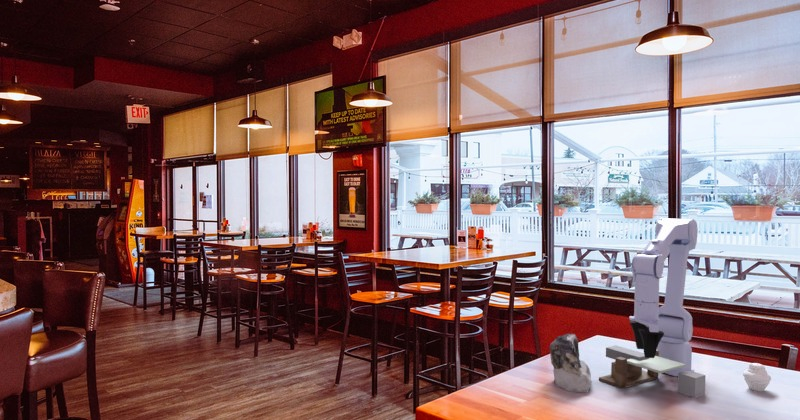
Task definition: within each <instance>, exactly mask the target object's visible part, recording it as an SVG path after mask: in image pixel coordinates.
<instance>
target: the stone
mask: <svg viewBox="0 0 800 420" xmlns="http://www.w3.org/2000/svg"><path fill="white" fill-rule="evenodd" d="M549 351H550V353H549V354H550V363H551V365H552V367H553V378H554V383H555V385H557V386H558V387H559V388H561V389H564V390H565V391H568V392H573V393H574V392H575V393H588V392H589V390H590V388H591V387H592V385H593V380H592V373H591V370H590V367H589V365H588V364H587V363H586V362H585V361H584V360H581V359H580V349H579V339H578V337H577V336H576V334H575V333H569V332H568V333H566V334H563V335H558V336H557V337H556V338H555V339H554V341H552V342H551V343H550V345H549Z"/></svg>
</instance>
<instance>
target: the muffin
mask: <svg viewBox="0 0 800 420" xmlns="http://www.w3.org/2000/svg"><path fill="white" fill-rule="evenodd" d="M742 376H743V378H744V381H745V382H746V385H747V387H748V388H749V390H752V391H754V392H764V391H765V390H766V388H767V387H768V386H769V385H770V382H771V380H772V377H771V375H770V374H769V373H768V371H767V370H766V367H765V366H764V365H763V364H761V363H758V362H753V363H750V364H749V365H748V367H747V368H746V369H745V370H743V373H742Z"/></svg>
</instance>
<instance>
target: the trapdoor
mask: <svg viewBox="0 0 800 420" xmlns="http://www.w3.org/2000/svg"><path fill="white" fill-rule="evenodd" d="M617 357H623V358H626V359H627V363H628V364H631V365H634V366H637V367H641V368H642V369H644V370H647V369H648V370H651V371H654V372H657V373H658V374H664V373H663V372H667V371H671V370H674V369H678V368H682V367H685V364H683V363H679V362H676V361H672V360H669V359H665V358H662V357H658V356H655V357H654V358H646V357H645V355H644V352H640V351H637V350H634V349H631V348H626V347H623V346H619V345H611V346H608V347H605V358H608V359H613V360H615V358H617Z"/></svg>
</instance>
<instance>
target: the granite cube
mask: <svg viewBox="0 0 800 420" xmlns="http://www.w3.org/2000/svg"><path fill="white" fill-rule="evenodd" d="M706 375H707V374H703V373H700V372H696V371H694V372H693V371H689V370H687V371H683V372H680V373H678V376H677V393H680V394H683V395H686V396H688V397H692V398H694V399H695V398H698V397H701V396H704V395H706Z"/></svg>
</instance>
